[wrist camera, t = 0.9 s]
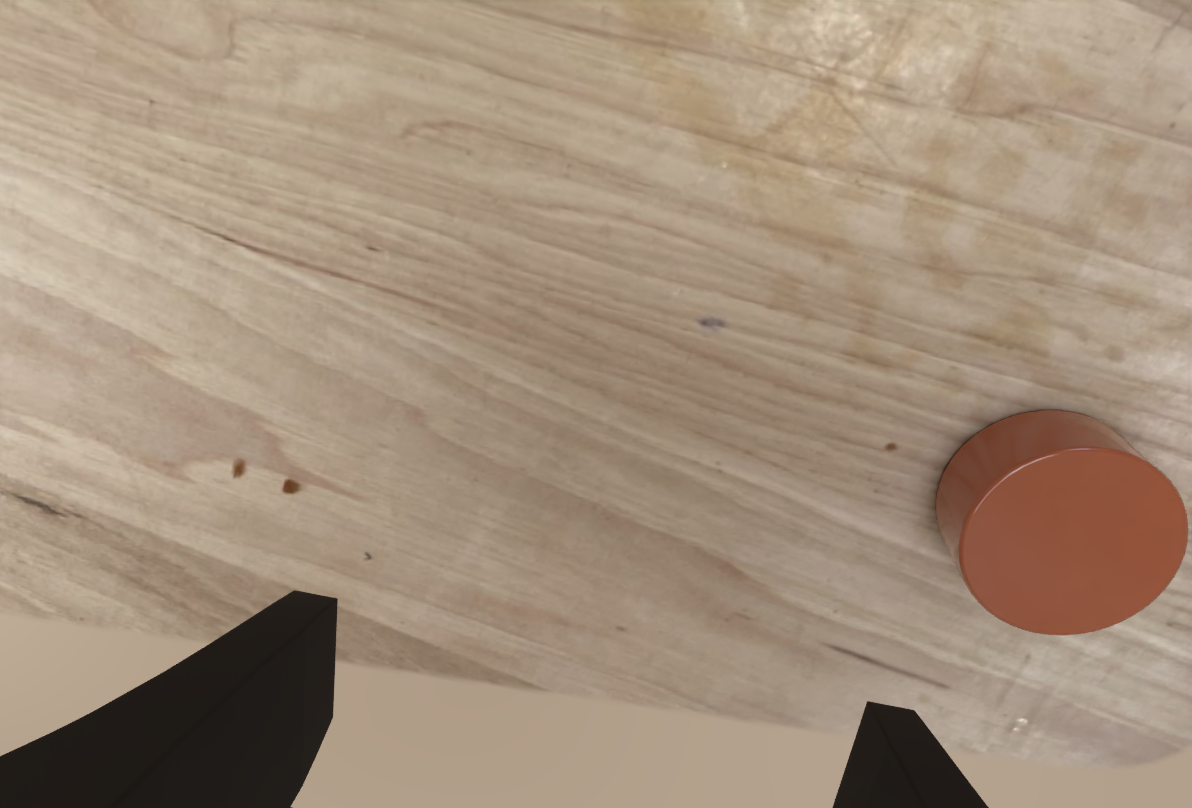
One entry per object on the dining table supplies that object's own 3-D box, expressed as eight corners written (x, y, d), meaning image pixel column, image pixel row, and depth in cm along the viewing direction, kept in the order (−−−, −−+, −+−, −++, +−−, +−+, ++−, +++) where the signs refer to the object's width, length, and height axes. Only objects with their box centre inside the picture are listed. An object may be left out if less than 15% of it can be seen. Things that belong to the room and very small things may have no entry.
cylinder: (1098, 599, 21) (1139, 655, 19) (910, 562, 22) (932, 614, 20) (1173, 429, 20) (1227, 470, 18) (968, 391, 20) (999, 428, 18)
